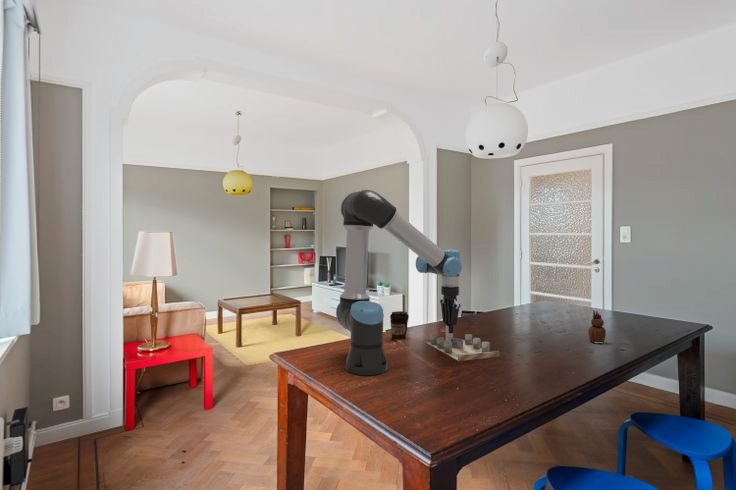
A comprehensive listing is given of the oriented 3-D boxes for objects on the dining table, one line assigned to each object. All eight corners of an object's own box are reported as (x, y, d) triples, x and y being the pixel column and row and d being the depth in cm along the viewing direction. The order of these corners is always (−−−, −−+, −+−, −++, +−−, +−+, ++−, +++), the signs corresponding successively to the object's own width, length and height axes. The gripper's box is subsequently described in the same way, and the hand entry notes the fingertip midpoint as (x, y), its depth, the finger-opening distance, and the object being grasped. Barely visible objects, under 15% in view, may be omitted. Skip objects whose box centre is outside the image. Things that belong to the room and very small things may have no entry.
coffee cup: (407, 344, 177) (407, 314, 177) (388, 342, 179) (388, 313, 179) (409, 338, 186) (409, 310, 185) (391, 337, 188) (391, 310, 187)
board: (458, 365, 150) (459, 350, 150) (426, 345, 175) (426, 333, 175) (499, 360, 156) (499, 346, 156) (462, 342, 181) (462, 330, 181)
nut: (453, 349, 165) (454, 341, 165) (447, 346, 170) (447, 338, 170) (466, 348, 167) (466, 340, 167) (459, 344, 172) (459, 337, 171)
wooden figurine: (590, 344, 180) (591, 310, 180) (586, 340, 186) (587, 308, 185) (607, 345, 178) (608, 311, 178) (602, 341, 184) (603, 309, 184)
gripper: (466, 287, 168) (465, 343, 169) (449, 283, 180) (448, 335, 181) (450, 288, 166) (449, 345, 166) (435, 284, 178) (434, 337, 179)
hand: (449, 340), depth 174 cm, fingers closed
